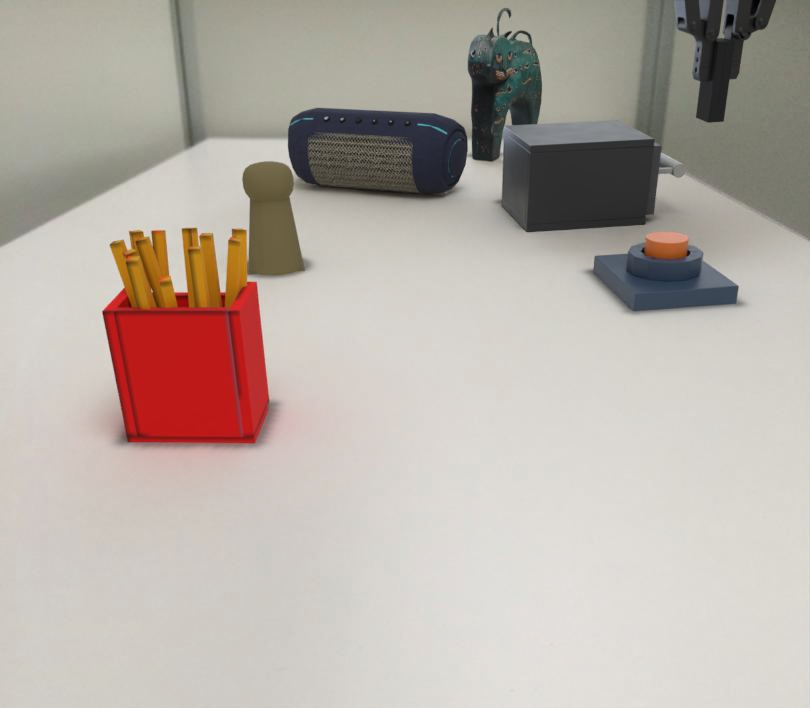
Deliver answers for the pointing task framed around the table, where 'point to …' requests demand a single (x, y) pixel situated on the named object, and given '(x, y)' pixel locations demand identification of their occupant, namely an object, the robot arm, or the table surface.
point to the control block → (664, 280)
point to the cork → (271, 220)
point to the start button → (666, 245)
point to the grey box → (576, 175)
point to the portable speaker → (377, 150)
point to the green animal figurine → (501, 87)
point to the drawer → (661, 166)
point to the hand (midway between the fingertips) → (709, 119)
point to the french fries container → (187, 343)
